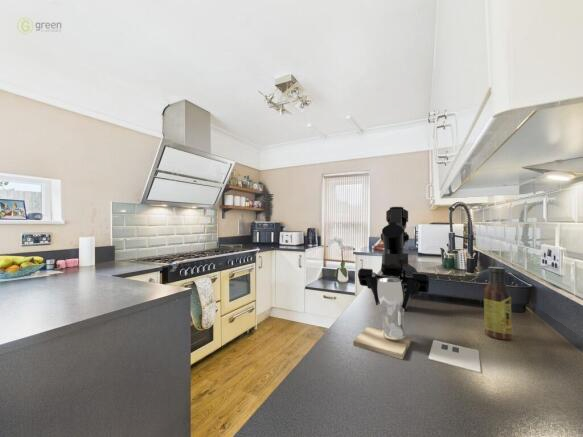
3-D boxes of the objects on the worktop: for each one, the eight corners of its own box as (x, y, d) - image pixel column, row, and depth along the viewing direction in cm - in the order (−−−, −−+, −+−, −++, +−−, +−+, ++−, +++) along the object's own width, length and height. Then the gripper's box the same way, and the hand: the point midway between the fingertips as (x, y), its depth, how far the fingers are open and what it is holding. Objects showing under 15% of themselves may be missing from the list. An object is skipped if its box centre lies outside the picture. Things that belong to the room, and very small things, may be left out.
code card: (433, 340, 70) (433, 340, 70) (478, 351, 65) (478, 350, 65) (428, 359, 61) (428, 358, 61) (480, 373, 55) (480, 372, 55)
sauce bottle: (512, 343, 70) (511, 270, 71) (484, 336, 74) (483, 267, 74) (510, 335, 75) (509, 267, 76) (484, 329, 79) (483, 265, 80)
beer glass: (393, 328, 74) (388, 276, 74) (413, 336, 68) (409, 279, 68) (374, 333, 71) (370, 279, 71) (394, 343, 65) (389, 283, 65)
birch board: (367, 330, 77) (367, 326, 77) (411, 341, 70) (411, 336, 70) (353, 345, 67) (353, 340, 67) (402, 359, 60) (402, 354, 60)
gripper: (359, 241, 78) (351, 285, 67) (428, 244, 70) (431, 294, 59) (363, 264, 85) (356, 307, 74) (427, 268, 77) (429, 317, 66)
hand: (390, 306), depth 68 cm, fingers closed on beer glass, 7 cm apart
